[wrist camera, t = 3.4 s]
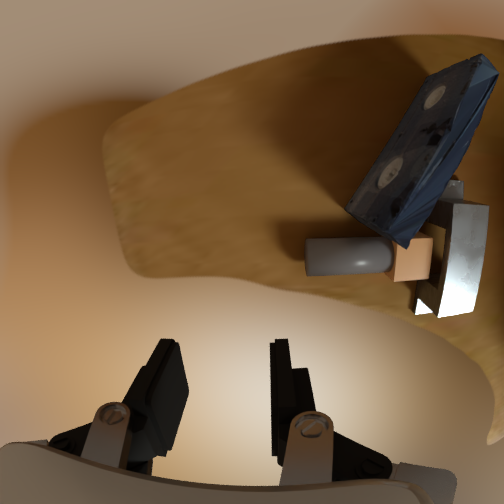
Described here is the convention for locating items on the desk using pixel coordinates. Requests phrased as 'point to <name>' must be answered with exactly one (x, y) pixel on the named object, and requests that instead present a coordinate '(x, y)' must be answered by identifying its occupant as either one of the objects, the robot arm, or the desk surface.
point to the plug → (369, 257)
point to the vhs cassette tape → (424, 151)
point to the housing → (455, 255)
